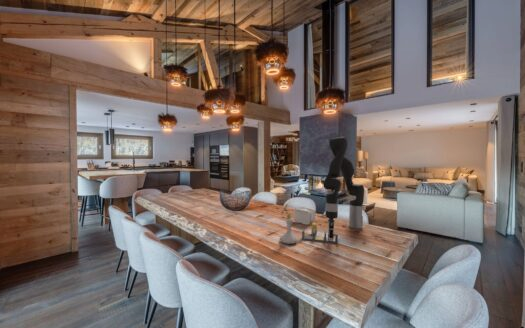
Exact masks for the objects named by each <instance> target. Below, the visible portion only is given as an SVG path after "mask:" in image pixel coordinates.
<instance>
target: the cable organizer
mask: <svg viewBox="0 0 525 328" xmlns="http://www.w3.org/2000/svg"><path fill="white" fill-rule="evenodd" d="M315 221H316V210H315V208H311V207H306V206H300V207H299V208H297V207H296V208H294V209H293V222H295V223H297V224H302V225H304V224H305V226H307V225H310V224H312V223H315ZM310 222H311V223H310Z"/></svg>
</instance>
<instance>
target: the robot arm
mask: <svg viewBox="0 0 525 328" xmlns="http://www.w3.org/2000/svg"><path fill="white" fill-rule="evenodd" d="M328 142H329V148H330V150H331V152H332V154H333V156H334V157H333V159H332V160H331V162H330V163H329V168H328V171H327V172H328V173H327V175H326V177H325V178H324V180H323V188H324V189H325V190H330V191H333V192H330V193H329V192H328V193H326V195H325V212H324V213H325V215H324V216H325V218H327V219H328V220H327V223H328V225H327V226H328V228H329V237H330V238H333V232H334V233H335V230H334V231H333V229H335V219H337V218H338V215H339V209H338V206H339V204H338V200H339V199H338V196H339V192H340V190H341V186H342V182H341V180H340V179H338V177H339V176H340V174H341V175H342V177H343V180H344V182H345V183H344V184H345V186H346V190H347V193H348V194H349V195H350V196H351V197H356V198H355V199H352V200H350V201H349V217H348V221H349V222H348V225H349V226H348V227H349V228H351V229H355V230H356V229H357V230H360V229H362V230H363V225H364V222H363V219H364V216H363V206H364V205H363V203H364V199H365V198H364V196H365V187H364V185H363V184H357V183H354V182H353V177H354V174H355V167H354V165H353V163H352V161H351V160H349V158H348V157H346V156H345V154H346V151H347V148H348V140H347V138H346V137H345V136H339V137H333V138H331V139H329V141H328ZM330 229H332V230H330Z"/></svg>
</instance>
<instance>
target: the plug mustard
mask: <svg viewBox="0 0 525 328" xmlns="http://www.w3.org/2000/svg"><path fill="white" fill-rule="evenodd" d="M314 230H315V236H316V235H318V234H317V233H318V224H317V223H316V222H312V223H311V235H313V231H314Z"/></svg>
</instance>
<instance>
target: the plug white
mask: <svg viewBox="0 0 525 328" xmlns="http://www.w3.org/2000/svg"><path fill="white" fill-rule="evenodd" d="M330 230H332V229H330ZM333 231H334V232H333V238H330V237H329V227H328V228H327V238H328V240H331V241H332V240H334V238H335V237H334V236H335V235H334V234H335V228H333Z"/></svg>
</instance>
